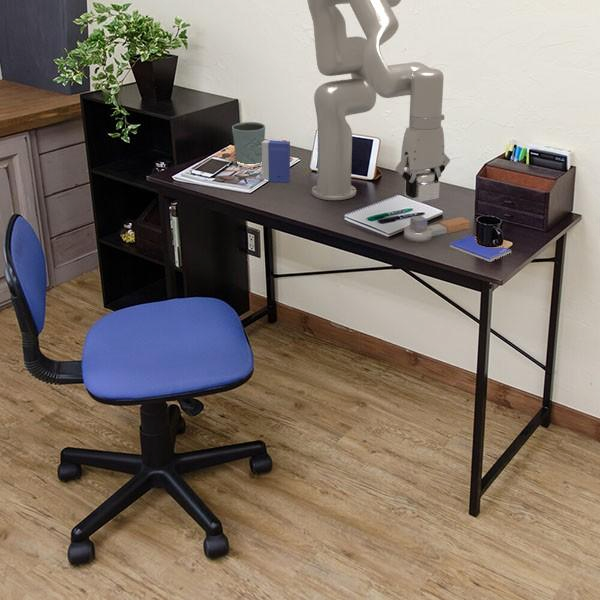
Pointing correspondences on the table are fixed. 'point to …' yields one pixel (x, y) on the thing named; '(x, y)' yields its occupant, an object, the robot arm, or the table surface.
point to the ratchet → (432, 228)
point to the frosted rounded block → (425, 186)
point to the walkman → (276, 160)
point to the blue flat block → (479, 249)
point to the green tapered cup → (248, 142)
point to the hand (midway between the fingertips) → (421, 193)
